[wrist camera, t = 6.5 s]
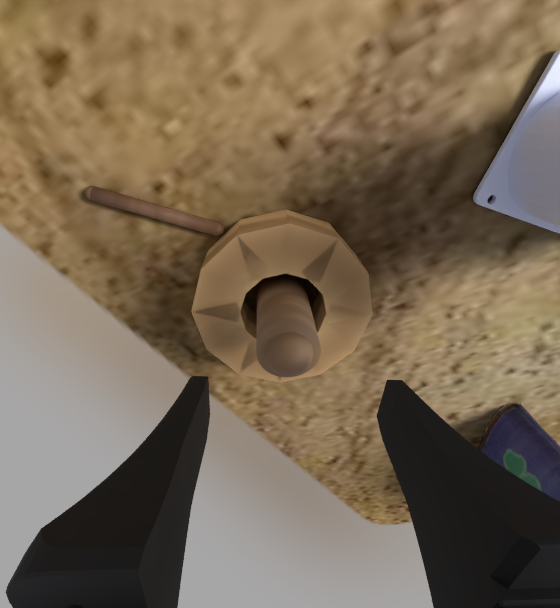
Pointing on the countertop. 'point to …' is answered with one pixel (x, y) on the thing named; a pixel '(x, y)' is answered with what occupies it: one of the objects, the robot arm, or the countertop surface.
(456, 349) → the countertop surface
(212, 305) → the wooden ring with handle
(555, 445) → the flask
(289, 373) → the brown rounded cylinder
